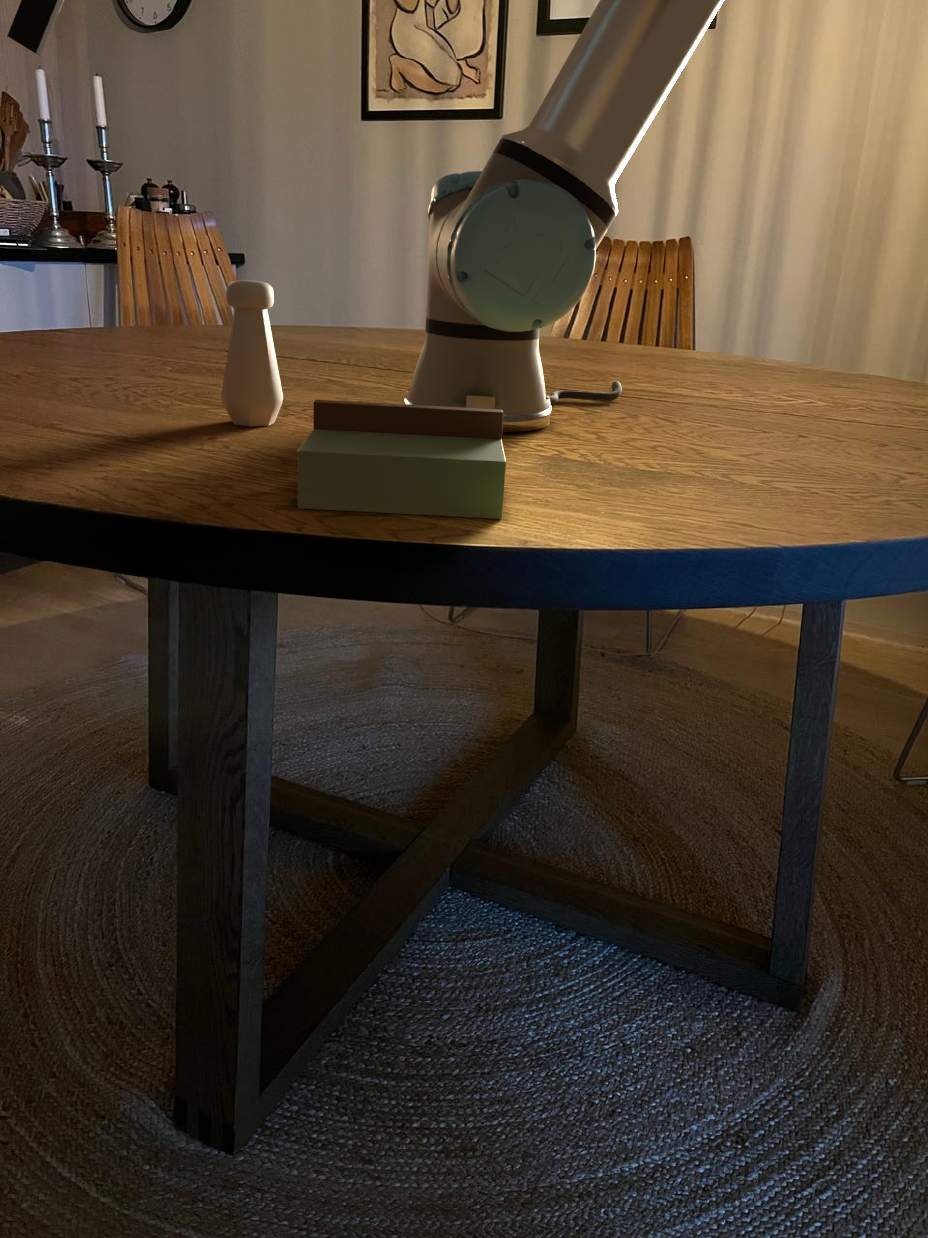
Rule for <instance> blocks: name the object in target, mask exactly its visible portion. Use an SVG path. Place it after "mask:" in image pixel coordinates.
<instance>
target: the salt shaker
mask: <svg viewBox="0 0 928 1238" xmlns="http://www.w3.org/2000/svg"><path fill="white" fill-rule="evenodd" d="M225 297H226V304H227V306H230V307H232V308H233V314H232V322H231V330H230V338H229V344H228V349H227V356H226V362H225V369H224V375H223V381H222V387H221V394H220V398H221V403H222V405H223V407H224V409H225V411H226V412H227V414H228V416H229V418H230V420H231V422H232V424H233V425H236V426H245V427H267V426H270V425H273V424H274V423H276V420H277V418H278V414H279V412H280V410H281V407H282V404H283V400H284V394H283V388H282V383H281V377H280V371H279V366H278V361H277V356H276V349H275V345H274V339H273V334H272V333H273V332H272V327H271V323H270V316H269V311H268V310H269V309H270V308H272V307H273V306H274V303H275V293H274V287H272V286H271V284H270V283H267V282H265V281H261V280H252V279H238V280H233V281H230V282H229V283H228V284H227V286H226V291H225Z"/></svg>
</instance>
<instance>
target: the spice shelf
mask: <svg viewBox="0 0 928 1238" xmlns="http://www.w3.org/2000/svg"><path fill="white" fill-rule="evenodd" d="M312 408H313V412H312V413H313V429H312V431H311V432H310V434H309V435H308V436H307V437H306V439H305V440H304V442H303V443H302V444H301V446H300V447H299V448H298V450H297V509H301V510H302V509H304V510H322V511H341V512H361V513H376V514H377V513H378V514H379V513H381V514H396V515H397V514H398V515H417V516H434V517H435V516H436V517H454V518H455V517H456V518H473V519H474V518H475V519H490V520H491V519H493V520H503V512H504V499H505V497H504V496H505V485H506V484H505V483H506V470H507V461H506V460H507V459H506V456H505V451H504V445H503V440H502V437H503V432H502V425H503V410H495V409H477V408H459V407H441V406H423V405H405V403H404V404H403V403H387V402H385V403H384V402H367V401H351V400H350V401H349V400H332V399H331V400H330V399H315V400H314V401H313V407H312Z"/></svg>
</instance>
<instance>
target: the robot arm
mask: <svg viewBox="0 0 928 1238" xmlns="http://www.w3.org/2000/svg"><path fill="white" fill-rule="evenodd" d="M724 1H725V0H599V1H598V3H597V5H596V7H595V8H594V10H593V12H592V14H591V16H590V17H589V19H588V21H587V22H586V24H585V25H584V28H583V29H582V31H581V33H580V34H579V37H578V38H577V40H576V42H575V43H574V46H573V47H572V49H571V51H570V52H569V54H568V56H567V57H566V60H565V61H564V63H563V65H562V67H561V68H560V70H559V72H558V74H557V76H556V77H555V79H554V81H553V83H552V84H551V86H550V88H549V90H548V91H547V93H546V95H545V96H544V98H543V100H542V102H541V104H540V105H539V107H538V109H537V110H536V113H535V114H534V116H533V118H532V120H531V122H530V123H529V125H528V126H527V127H525V128H524V129H521V130H517V131H513V132H510V133H505V134H503V135H502V136H501V137H500V139H499V140H498V142H497V145H496V146H495V148H494V149H493V152H492V153H491V155H490V157H489V159H488V160H487V162H486V163H485V165H484V167H483V169H482V170H472V171H464V172H462V173H457V172H456V173H450V174H447V175H445V176H442V177H440V178H439V179H438V180H436V182H435V183H434V185H432V186H433V187H432V188H431V194H430V195H431V196H430V203H429V205H428V208H427V218H428V220H429V221H428V222H429V234H428V255H427V257H428V258H427V277H426V279H427V281H426V285H427V286H426V302H425V303H426V305H425V327H424V328H425V329H424V330H425V331H424V342H423V345H422V348H421V351H420V353H419V356H418V360H417V362H416V366H415V370H414V372H413V376H412V379H411V383H410V387H408V388H407V390H406V393H405V397H404V404H405V405H423V406H441V407H459V408H477V409H495V410H503V425H502V433H507V432H508V433H511V432H512V433H513V432H526V431H527V432H529V431H535V430H539V429H543V428H546V427H548V426H549V425H551V414H552V413H551V412H552V405H555V404H557V403H558V402H559V400H562V399H564V400H565V399H567V400H568V399H571V400H582V401H583V400H586V401H594V402H595V401H597V402H608V401H615V400H617V399H618V398H619V397H620V396H621V394H622V392H623V386H622V384H621V382H620V381H619V380H614V381H613V382H612V383H611V391H610V392H592V391H581V390H579V391H578V390H555V391H553V392H552V393H550V395H548V394H546V384H545V377H544V376H545V375H544V371H543V365H542V360H541V353H540V348H539V344H540V329H542V328H544V327H547V326H550V325H552V324H555V323H556V322H557V321H559V320H561V319H562V318H564V317H565V316H566V315H568V313H570V312H571V311H572V310H573V309H574V308H575V306H577V304H578V303H579V302H580V301H581V299H582V297H583V296H584V295H585V293H586V291H587V289H588V287H589V285H590V283H591V280H592V277H593V275H594V271H595V265H596V258H597V257H596V256H597V255H596V253H597V251H596V250H597V249H598V247H599V245H600V244H601V242H602V240H603V239H604V237H605V235H606V233H607V232H608V230H609V228H610V227H611V225H612V224H613V222H614V220H615V219H616V217H617V214H619V209H618V202H617V199H616V198H617V197H616V193H615V184H616V182H617V180H618V178H619V177H620V175H621V174H622V172H623V170H624V168H625V167H626V165H627V163H628V161H629V160H630V159H631V157H632V155H633V153H634V152H635V150H636V148H637V147H638V145H639V143H640V142H641V140H642V138H643V136H645V133H646V131H647V130H648V128H649V127H650V125H651V123H652V121H653V120H654V118H655V116H656V115H657V114H658V111H659V110H660V108H661V106H662V104H663V103H664V101H665V100H666V98H667V96H668V94H669V93H670V91H671V89H672V88H673V86H674V85H675V83H676V81H677V80H678V78H679V76H680V75H681V72H682V71H683V69H684V68H685V66H686V65H687V63H688V61H689V59H690V58H691V56H692V55H693V52H694V51H695V49H696V48H697V46H698V44H699V43H700V41H701V40H702V38H703V36H704V34H705V32H706V31H707V29H708V28H709V26H710V24H711V22H712V21H713V19H714V18H715V16H716V14H717V12H718V11H719V9H720V8H721V6H722V4H723V2H724ZM64 3H65V0H20V3H19V5H18V8H17V10H16V13H15V16H14V18H13V20H12V23H11V25H10V28H9V31H8V33H7V35H6V37H7V38H9V39H10V40H12V41H14V42H16V43H17V44H19V45H21V46H22V47H24V48H26V49H27V50H29V51H30V52H32V53H34V54H36V55H37V56H39V57H42V54H43V52H44V50H45V47H46V45H47V42H48V40H49V37H50V35H51V32H52V30H53V28H54V26H55V23H56V20H57V18H58V16H59V14H60V11H61V9H62V7H63V4H64Z"/></svg>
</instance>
